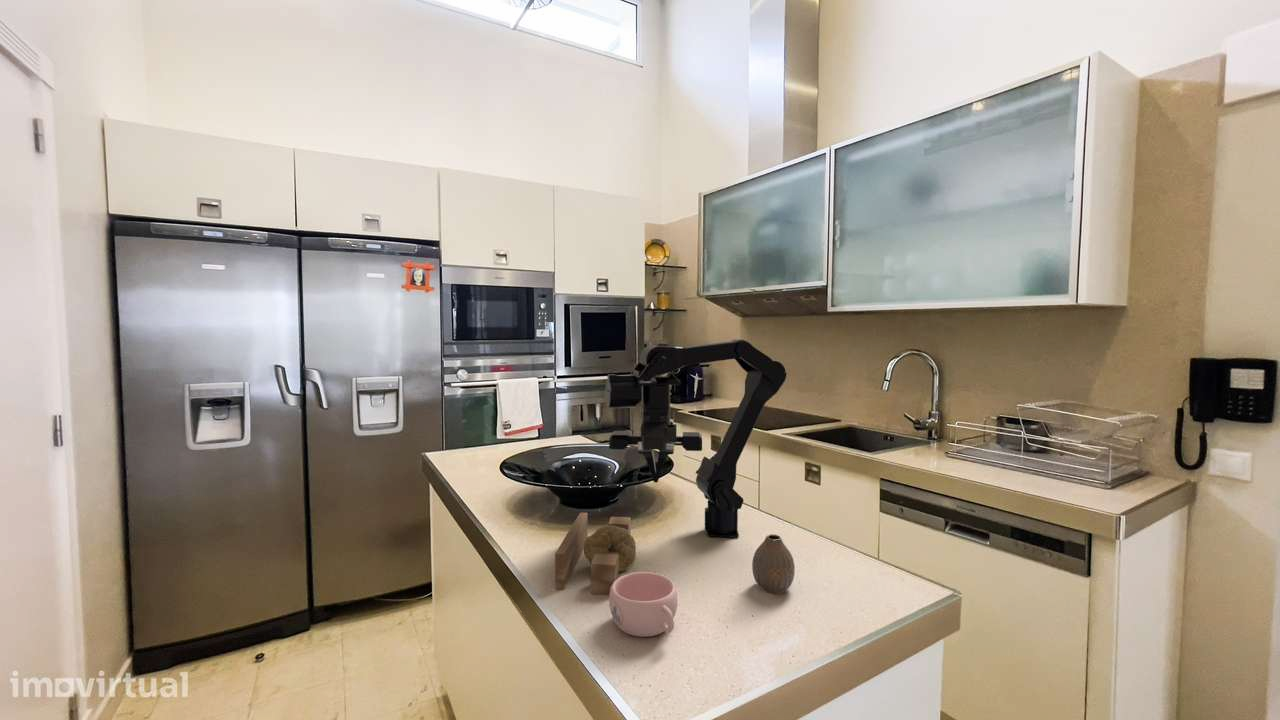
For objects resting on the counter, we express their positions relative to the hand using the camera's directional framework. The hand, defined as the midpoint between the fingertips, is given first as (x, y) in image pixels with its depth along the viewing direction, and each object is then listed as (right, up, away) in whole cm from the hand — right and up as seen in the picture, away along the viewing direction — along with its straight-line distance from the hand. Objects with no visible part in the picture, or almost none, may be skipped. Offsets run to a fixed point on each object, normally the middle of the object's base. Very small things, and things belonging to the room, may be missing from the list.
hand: (655, 481), depth 108 cm
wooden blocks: (-11, -13, -11) cm, 20 cm away
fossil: (-9, -13, -12) cm, 20 cm away
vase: (+19, -13, -20) cm, 31 cm away
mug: (-2, -14, -32) cm, 35 cm away
